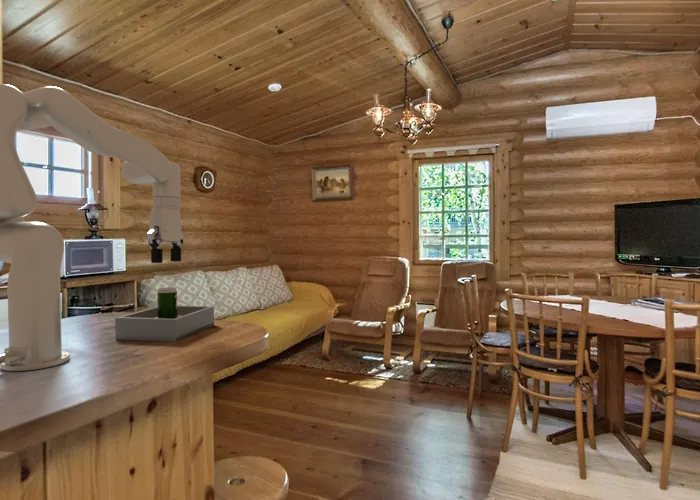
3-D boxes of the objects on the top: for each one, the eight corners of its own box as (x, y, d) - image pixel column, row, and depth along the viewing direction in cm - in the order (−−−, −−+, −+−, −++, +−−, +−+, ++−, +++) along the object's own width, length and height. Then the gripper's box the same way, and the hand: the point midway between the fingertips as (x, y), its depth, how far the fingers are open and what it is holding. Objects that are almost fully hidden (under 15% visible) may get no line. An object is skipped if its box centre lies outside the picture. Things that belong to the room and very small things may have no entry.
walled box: (175, 341, 116) (175, 319, 116) (115, 339, 119) (115, 317, 119) (214, 325, 138) (213, 306, 138) (162, 323, 141) (162, 305, 141)
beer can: (160, 331, 125) (160, 289, 124) (155, 328, 129) (154, 288, 128) (180, 328, 128) (179, 288, 128) (174, 325, 132) (173, 286, 132)
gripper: (171, 206, 137) (171, 260, 137) (136, 201, 120) (136, 263, 120) (193, 206, 135) (193, 260, 136) (161, 201, 118) (161, 263, 119)
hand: (166, 262), depth 128 cm, fingers open, 9 cm apart
